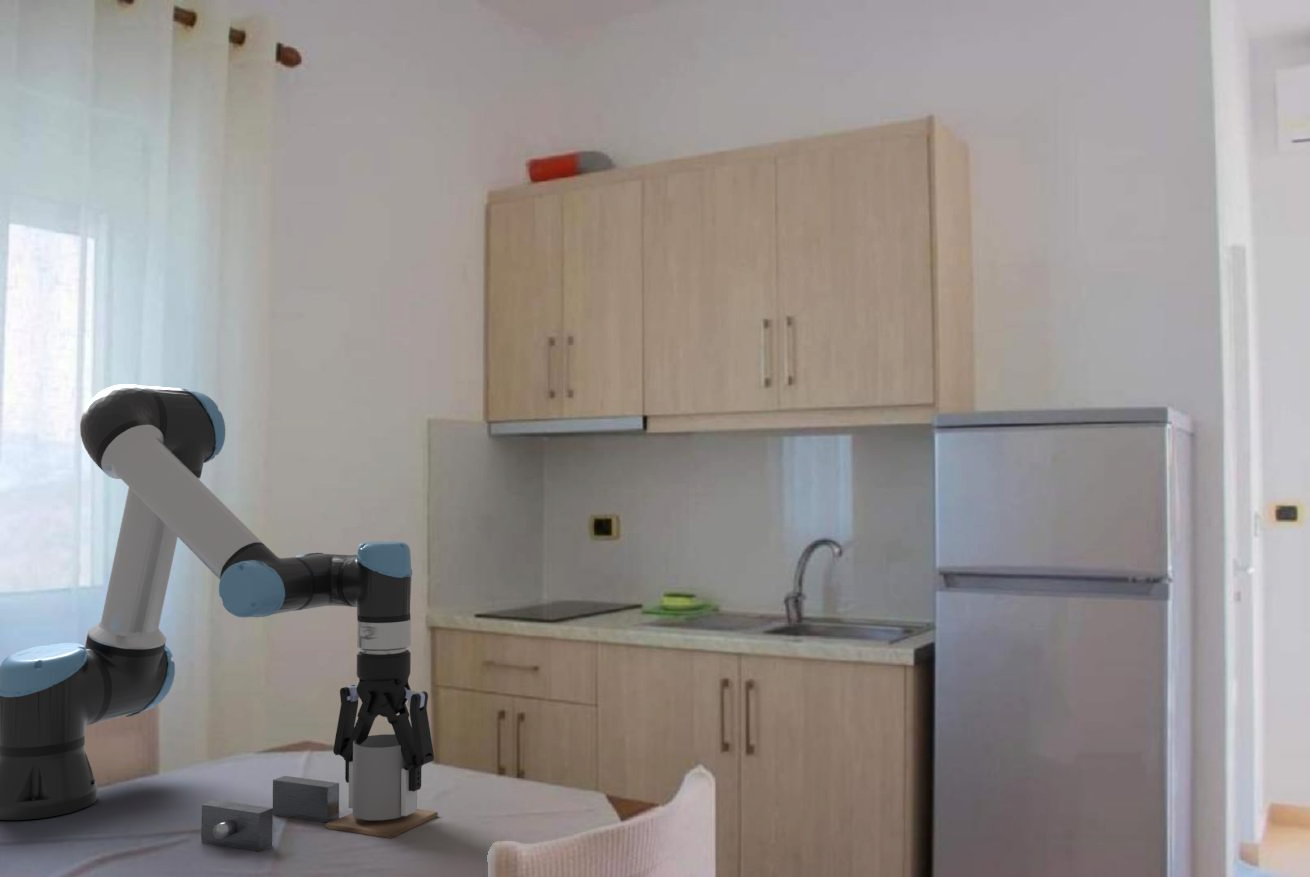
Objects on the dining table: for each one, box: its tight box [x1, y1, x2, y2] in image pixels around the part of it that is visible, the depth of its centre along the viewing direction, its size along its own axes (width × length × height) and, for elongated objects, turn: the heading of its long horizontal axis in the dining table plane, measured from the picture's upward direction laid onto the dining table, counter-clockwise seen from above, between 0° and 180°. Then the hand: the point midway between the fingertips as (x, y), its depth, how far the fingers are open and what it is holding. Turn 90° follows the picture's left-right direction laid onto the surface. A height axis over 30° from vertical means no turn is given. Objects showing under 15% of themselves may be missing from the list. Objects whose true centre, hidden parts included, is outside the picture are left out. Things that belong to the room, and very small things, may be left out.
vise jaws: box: [200, 775, 340, 853], centre depth 157 cm, size 10×20×5 cm, turn 156°
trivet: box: [325, 808, 439, 839], centre depth 161 cm, size 11×11×1 cm
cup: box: [352, 733, 406, 820], centre depth 161 cm, size 8×8×10 cm
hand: (382, 809), depth 161 cm, fingers closed on cup, 8 cm apart
